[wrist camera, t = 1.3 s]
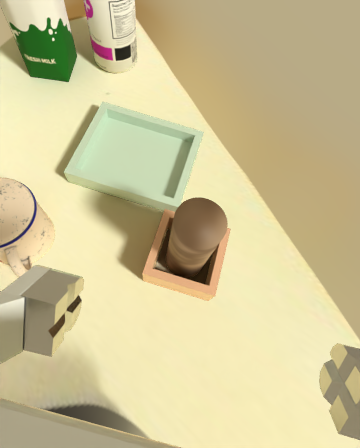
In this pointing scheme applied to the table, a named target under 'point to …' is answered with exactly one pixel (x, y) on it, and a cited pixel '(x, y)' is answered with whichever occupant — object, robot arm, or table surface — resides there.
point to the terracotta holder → (178, 282)
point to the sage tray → (135, 157)
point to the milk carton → (42, 36)
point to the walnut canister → (194, 236)
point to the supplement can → (112, 33)
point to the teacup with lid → (22, 227)
